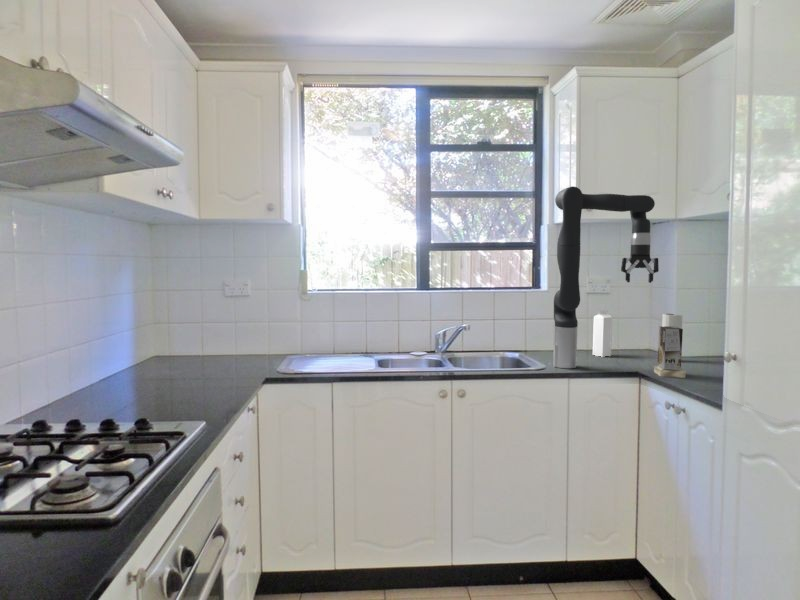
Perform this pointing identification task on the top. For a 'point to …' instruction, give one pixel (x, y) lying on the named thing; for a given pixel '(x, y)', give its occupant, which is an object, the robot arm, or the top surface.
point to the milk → (602, 334)
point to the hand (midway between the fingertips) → (639, 282)
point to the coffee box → (670, 347)
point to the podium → (669, 372)
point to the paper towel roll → (672, 320)
